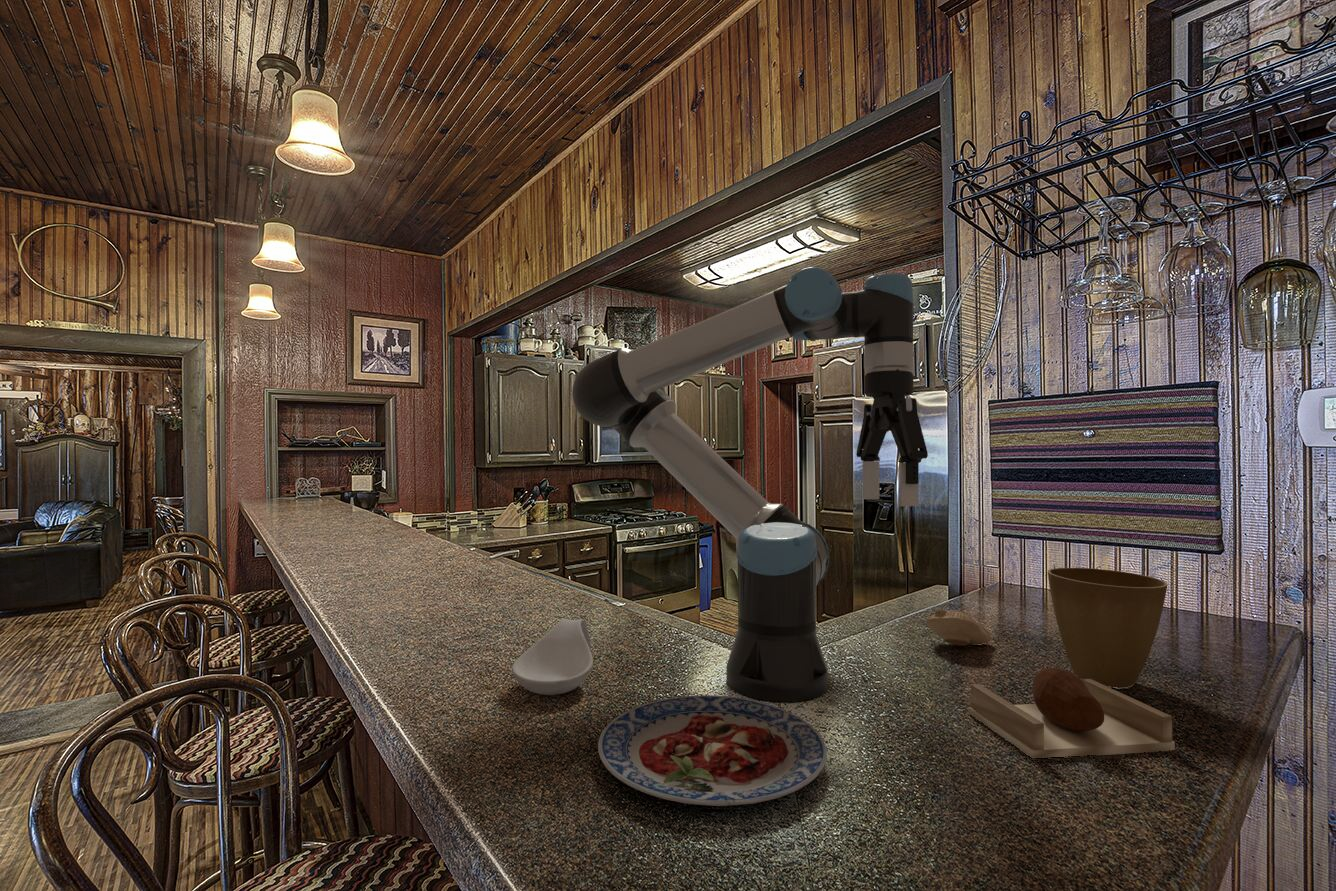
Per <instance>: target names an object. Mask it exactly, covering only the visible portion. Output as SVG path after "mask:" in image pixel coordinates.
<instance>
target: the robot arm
mask: <svg viewBox="0 0 1336 891" xmlns="http://www.w3.org/2000/svg"><path fill="white" fill-rule="evenodd" d="M863 285H864V287H863V290H857V291H851V292H848V291H847V292H843V291H842V287H841V285H840V283H839V282H838V281H837V279H836V278H835V277H834V275H832V274H831V273H830V272H829V271H827V269H824V268H821V267H817V266H809V267H805V268H803V269H800V270H799V271H797V272H795V273H794V275H792V277H790V279H789V280H788V282H787V284H785V285H783V286H781V287H779V288H777V289H774V290H772V291H770V292H768V293H765V294H763V295H761V296H758V297H756V298H753V299H751V300H749V301H746V302H743V303H742V304H739V305H737V306H734V307H732V308H729V309H728V310H725V311H723V312H720V313H718V314H715V315H713V316H711V317H709V318H706V319H704V320H701V321H700V322H697V323H694V324H692V325H689V326H687V327H684V328H682V329H680V330H678V331H676V332H673V333H671V334H669V335H666V336H664V337H661V338H659V339H656V340H655V341H654V340H653V341H652V342H649V343H647V344H645V345H642V346H640V347H638V348H636V349H635V348H634V349H633V350H631V349H630V348H626V347H622V348H620V349H617V350H615V351H613V352H612V351H611V353H607V354H606V355H603V356H600V357H598V358H596V359H594V360H592V361H591V362H589V363H587V364H586V365H585V366H583V367H582V368H581V370H579V372H578V373H577V375H576V377H575V379H574V381H573V384H572V390H571V391H572V400H573V404H574V407H575V409H576V410H577V412H578V413H579V415H580V416H581V417H582V418H583V419H584V420H585V421H587V422H589V423H591V424H593V425H596V426H599V427H605V428H606V427H607V428H612V429H614V430H615V432H617V433H618V434H619V436H621V438H623V440H624V441H626V442H627V444H629V446H630V447H632V448H644V449H645V450H646V451H647V452H648V453H649V454H650V455H651V456H652V457H653V458H655V460H656V461H657V462H658V463H659V464H660V465H661V466H662V467H663V469H664V468H665V469H666V470H667V472H668V473H669V474H670V475H671V476H672V477H674V478H675V480H676V481H677V482H678V483H679V484H681V485H682V487H684V489H686V491H688V493H690V494H691V495H692V497H693V498H695V499H696V501H698V502H699V503H700V504H701V505H702V507H704V509H705V510H707V511H708V512H709V514H711V515H712V516H713V517H714V518H715V519H716V520H717V521H718V522H719V523H720V524H721V525H722V527H724V528H725V529H726V530H727V531H728V532H729V533H730V534H731V535H732V536H733V537H734V538H735V545H736V546H735V548H736V549H735V550H736V557H737V631H736V635H735V638H734V641H733V645H732V648H731V649H730V653H729V657H728V660H727V663H726V683H727V685H728V686H729V687H730V688H731V689H732V690H733V691H736V692H737V693H738V694H739V693H740V694H741V695H744V696H747V697H751V698H753V699H758V700H763V701H768V702H769V701H771V702H786V703H787V702H791V703H792V702H800V701H802V702H803V701H808V700H812V699H815V698H817V697H820V696H822V695H824V694H825V693H826V692H827V691H828V689H829V671H828V667H827V664H826V660H825V657H824V654H823V651H822V649H821V645H820V642H819V639H818V636H817V586H818V585H819V584H820V582H821V581H823V579H824V578H825V576H826V574H827V572H828V569H829V564H830V555H829V554H830V552H829V547H828V544H827V542H826V539H825V538H824V536H823V534H822V533H821V532H820V531H819V530H818V529H817V528H816V527H814V526H812V525H811V524H809V523H806V522H805V521H801V520H800V519H799V517H798V516H796V515H795V514H794V513H793V512H792V511H791V510H790V509H789V508H788V507H787V506H785V504H783V503H772V502H771V503H770V502H769V501H768V500H767V499H766V498H765V497H763V496H762V495H761V494H760V493H759V492H758V491H757V490H756V489H755V488H754V487H753V486H752V485H751V484H750V483H749V482H748V481H747V480H746V479H745V478H743V476H741V474H739V472H737V471H736V470H735V469H734V468H733V467H732V465H730V464H729V463H728V462H727V461H726V460H724V458H722V457H721V455H719V453H717V452H716V451H715V450H714V449H713V448H712V447H711V446H710V445H709V444H708V443H707V442H706V441H705V440H704V439H702V438H701V436H700V435H699V434H698V433H696V432H695V431H694V430H693V429H692V428H691V427H690V426H689V425H688V424H687V423H686V422H685V421H684V420H682V418H681V417H679V415H677V405H676V402H675V400H673V399H672V398H671V396H670V395H668V394H667V393H666V391H665V389H664V388H666V387H669V386H671V385H673V384H676V383H678V382H680V381H684V380H686V379H688V378H690V377H691V378H692V377H693V376H696V375H699V374H700V373H703V372H706V371H709V370H710V369H713V368H715V367H718V366H720V365H721V366H722V365H723V364H726V363H728V362H731V361H733V360H735V359H738V358H741V357H743V356H745V355H748V354H751V353H753V352H756V351H758V350H760V349H764V348H765V347H768V346H770V345H773V344H776V343H778V342H780V341H782V340H785V339H788V338H790V337H792V338H793V339H794V340H795V341H810V342H816V341H819V340H820V341H823V340H824V341H825V340H836V339H847V338H849V339H850V338H852V339H853V338H864V339H863V340H864V342H863V343H864V344H863V345H864V346H863V369H864V371H866V372H867V373H865V375H864V377H863V378H864V381H863V382H864V383H863V384H864V385H863V386H864V387H863V388H864V389H863V390H864V391H863V392H864V395H865V396H866V397H869V398H873V400H872V401H873V402H872V403H865V404H864V405H863V418H862V423H861V428H860V433H859V439H858V443H857V449H856V457H857V458H860V461H861V462H862V468H861V469H862V474H861V475H862V500H880V461H881V458H880V456H879V453H880V451H881V448H882V445H883V443H884V440H885V438H886V435H887V433H888V432H891V435H892V438H893V440H894V443H895V445H896V447H897V451H898V453H899V455H900V457H899V459H898V461H897V462H898V479H899V481H898V482H899V483H898V484H899V485H898V486H899V487H898V492H899V493H898V494H899V495H898V497H899V498H898V506H899V507H919V506H920V505H919V503H920V502H919V500H920V499H919V498H920V496H919V495H920V494H919V493H920V492H919V490H920V489H919V488H920V487H919V486H920V483H919V480H920V478H919V477H920V476H919V475H920V474H919V473H920V472H919V471H920V470H919V468H920V466H919V464H920V463H921V462H922V460H924V459H927V458H928V456H929V452H928V449H927V445H926V442H925V438H924V437H925V436H924V434H923V429H922V427H921V426H922V425H921V421H920V417H919V414H918V406H917V405H918V403H917V402H918V401H917V398H914V397H909V396H911V395H913V393H914V373H913V372H912V371H910V370H911V369H913V367H914V357H915V355H916V354H915V352H914V290H913V289H914V288H913V281H912V279H911V277H909V276H908V275H906V274H903V273H898V272H888V273H880V274H878V275H877V274H876V275H872V276H869V277H868V278H867V279H866V280H865V281H864V284H863Z"/></svg>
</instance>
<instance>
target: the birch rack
mask: <svg viewBox="0 0 1336 891" xmlns="http://www.w3.org/2000/svg"><path fill="white" fill-rule="evenodd" d="M1082 681H1083V682H1084V683H1085V685H1086V687H1087V688H1088V690H1089V692H1090V693H1091V694H1092V695H1093V696H1094V697H1095V698H1096V700H1097V701H1098V702H1099V704H1100V705H1101V707H1102V710H1103V712H1104V722H1103V724H1102V725H1101V726H1100V727H1098V728H1096V729H1094V730H1090V731H1073V730H1070V729H1066V728H1063V727H1060V726H1058V725H1056V724H1055V723H1054V722H1052V721H1051V720H1049V719H1047V718H1046V717H1045V716H1044V715H1043V714H1042V713H1041V712H1040V711H1039V709H1038V708H1037V706H1036V703H1028V704H1027V703H1026V704H1025V703H1023V704H1013V703H1011V702H1009V701H1008V700H1006V699H1005V698H1003V697H1001V696H1000V695H998V694H996V693H994V692H993V691H992V690H990V689H989V688H986V687H985V686H984V685H982V684H980V683H975V684H973V683H972V684H970V706H969V707H968V714H969V713H970V714H971V715H972V716H974V717H975V718H977V719H978V720H980V721H981V722H983V723H984V724H985V725H987V726H989V727H990V728H992V729H993V730H994V731H996V732H997V733H998V734H1000V735H1001V736H1002V737H1004V738H1005V739H1006V740H1008V741H1009V742H1011V743H1012V744H1014V745H1015V746H1016V747H1017V748H1019V749H1021V750H1022V751H1023V752H1025V753H1026V754H1028V755H1029V756H1030V757H1032V758H1040V757H1041V758H1043V757H1044V758H1045V757H1064V758H1072V757H1071V756H1080V757H1088V756H1087V755H1090V756H1089V757H1092V756H1091V755H1094V756H1095V755H1096V756H1111V755H1123V754H1124V755H1125V754H1127V755H1129V754H1139V753H1140V754H1142V753H1143V754H1144V752H1145V753H1159V751H1161V752H1173V751H1172V750H1175V746H1176V745H1175V741H1174V740H1173V716H1172V715H1170V714H1168V713H1165V712H1163V711H1162V710H1159V709H1157V708H1155V707H1152V706H1150V705H1148V704H1146V703H1144V702H1142V701H1139V700H1137V699H1135V698H1134V697H1131V696H1129V695H1126V694H1124V693H1122V692H1120V691H1117V689H1111V688H1109V687H1107V686H1105V685H1103V684H1101V683H1098V682H1096V681H1094V680H1092V679H1082ZM1169 750H1170V751H1169ZM1084 755H1085V756H1084ZM1065 756H1066V757H1065ZM1068 756H1070V757H1068ZM1096 756H1095V757H1096Z"/></svg>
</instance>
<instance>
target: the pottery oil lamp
mask: <svg viewBox="0 0 1336 891" xmlns="http://www.w3.org/2000/svg"><path fill="white" fill-rule="evenodd" d="M925 625H926V626H927V627H928V628H929V629H930V630H931V631H932V632H933V633H934V634H935V635H937V636H938V637H940V638H941V639H942V640H943V641H944V642H946V643H949V644H951V645H955V646H961V645H962V646H964V647H965V646H969V645H970V644H982V643H988V642H989V643H990V642H991V641H992V640H993V638H992V636H991V632H990V631H989V630H988V629H986V628H984V627H983V626H981V625H980V624H979V623H977V622H976V620H975V619H974V618H973V617H972V616H971V615H969V614H968V613H967V612H966V611H962V610H955V609H947V610H946V609H945V610H943V609H939V610H934V613H933V614H931V615H930V616H929V617H928V618H927V619H925ZM989 643H988V644H989Z"/></svg>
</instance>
